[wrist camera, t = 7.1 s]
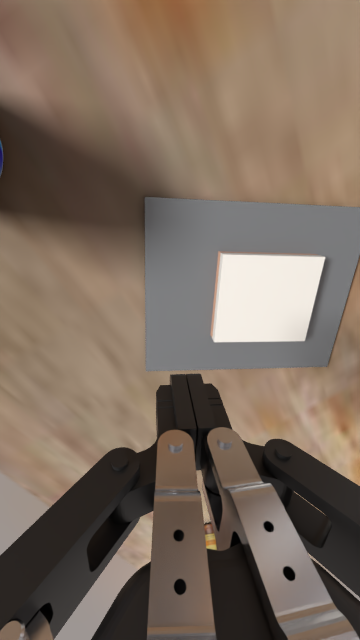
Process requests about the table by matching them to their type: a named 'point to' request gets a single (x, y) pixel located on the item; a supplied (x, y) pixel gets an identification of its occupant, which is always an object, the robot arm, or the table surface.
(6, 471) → the table surface
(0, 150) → the beer can
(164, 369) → the mat
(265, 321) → the tile
